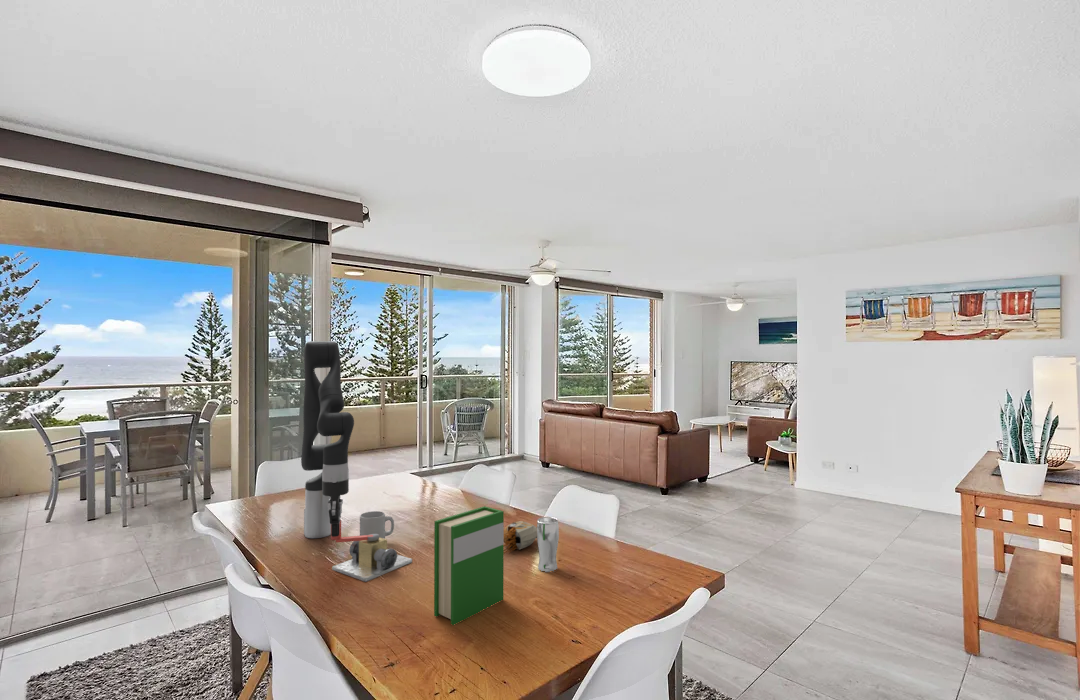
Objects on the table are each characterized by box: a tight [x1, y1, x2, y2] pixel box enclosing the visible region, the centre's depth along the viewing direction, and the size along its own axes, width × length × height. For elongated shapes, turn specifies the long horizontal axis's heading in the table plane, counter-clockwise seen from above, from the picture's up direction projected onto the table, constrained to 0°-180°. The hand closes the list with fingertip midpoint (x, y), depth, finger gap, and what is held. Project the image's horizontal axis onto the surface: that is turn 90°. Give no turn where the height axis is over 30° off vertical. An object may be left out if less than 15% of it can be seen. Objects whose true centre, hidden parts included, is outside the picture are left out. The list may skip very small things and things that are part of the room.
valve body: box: [331, 537, 413, 583], centre depth 165 cm, size 16×18×8 cm
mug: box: [359, 510, 395, 539], centre depth 184 cm, size 12×8×11 cm
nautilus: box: [504, 520, 537, 555], centre depth 182 cm, size 8×22×15 cm
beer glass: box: [536, 516, 560, 573], centre depth 163 cm, size 7×7×15 cm
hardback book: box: [433, 505, 505, 626], centre depth 138 cm, size 18×7×24 cm, turn 140°
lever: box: [330, 520, 379, 544], centre depth 164 cm, size 14×4×7 cm, turn 104°
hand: (335, 535), depth 159 cm, fingers closed
